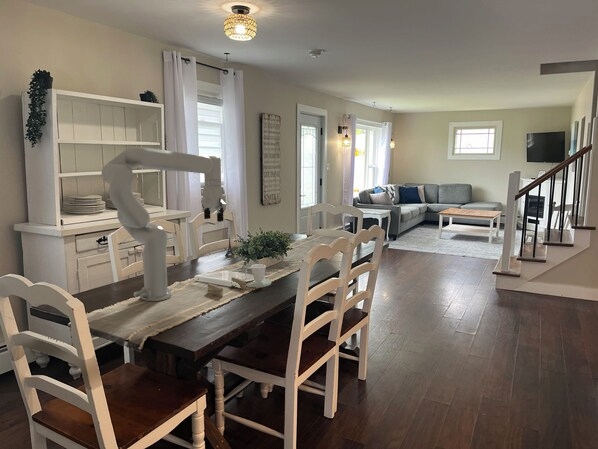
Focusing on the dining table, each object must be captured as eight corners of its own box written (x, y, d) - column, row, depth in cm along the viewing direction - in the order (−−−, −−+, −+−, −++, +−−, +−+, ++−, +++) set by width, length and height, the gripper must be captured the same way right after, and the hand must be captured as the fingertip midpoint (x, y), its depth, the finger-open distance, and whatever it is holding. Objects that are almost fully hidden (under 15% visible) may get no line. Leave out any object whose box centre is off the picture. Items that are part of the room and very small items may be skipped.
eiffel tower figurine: (229, 261, 258) (229, 238, 255) (215, 258, 262) (214, 236, 260) (244, 255, 271) (244, 233, 268) (231, 253, 275) (230, 231, 273)
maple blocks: (220, 297, 196) (220, 288, 195) (207, 292, 202) (207, 283, 201) (246, 289, 207) (246, 281, 206) (233, 285, 213) (233, 276, 212)
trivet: (255, 289, 207) (255, 288, 206) (235, 283, 216) (235, 282, 216) (277, 283, 217) (277, 281, 217) (257, 277, 226) (257, 275, 226)
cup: (264, 285, 212) (264, 268, 210) (243, 283, 213) (243, 267, 212) (267, 280, 218) (267, 264, 217) (247, 279, 220) (247, 263, 219)
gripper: (194, 182, 211) (196, 218, 214) (218, 185, 200) (218, 223, 203) (208, 181, 217) (209, 216, 220) (231, 184, 205) (232, 221, 208)
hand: (213, 219), depth 211 cm, fingers open, 9 cm apart
